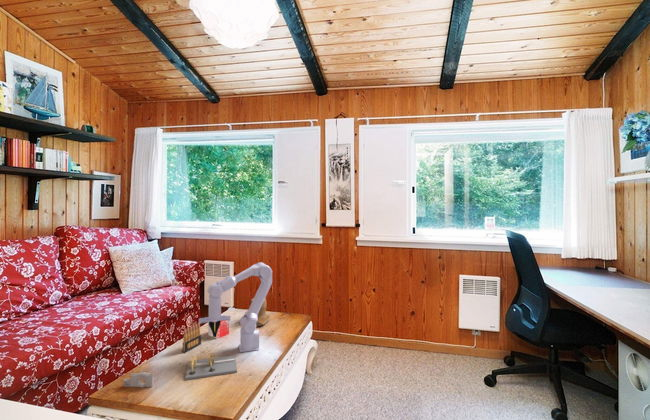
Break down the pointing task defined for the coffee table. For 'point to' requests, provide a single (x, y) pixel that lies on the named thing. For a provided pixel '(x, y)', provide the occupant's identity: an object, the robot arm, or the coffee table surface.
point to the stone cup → (262, 314)
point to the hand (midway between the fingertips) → (214, 336)
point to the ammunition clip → (191, 338)
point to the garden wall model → (136, 382)
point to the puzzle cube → (220, 329)
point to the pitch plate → (203, 368)
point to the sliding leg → (211, 359)
